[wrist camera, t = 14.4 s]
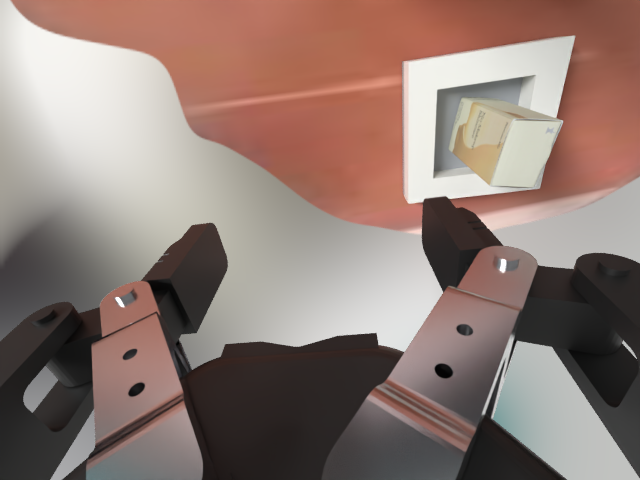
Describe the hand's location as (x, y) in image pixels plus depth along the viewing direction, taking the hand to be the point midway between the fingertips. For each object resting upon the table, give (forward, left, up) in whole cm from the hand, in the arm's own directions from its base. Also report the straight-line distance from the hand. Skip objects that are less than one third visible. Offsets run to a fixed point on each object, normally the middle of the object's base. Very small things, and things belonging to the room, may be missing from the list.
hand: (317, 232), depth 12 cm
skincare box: (+4, +17, -29) cm, 34 cm away
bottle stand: (+4, +17, -30) cm, 35 cm away
